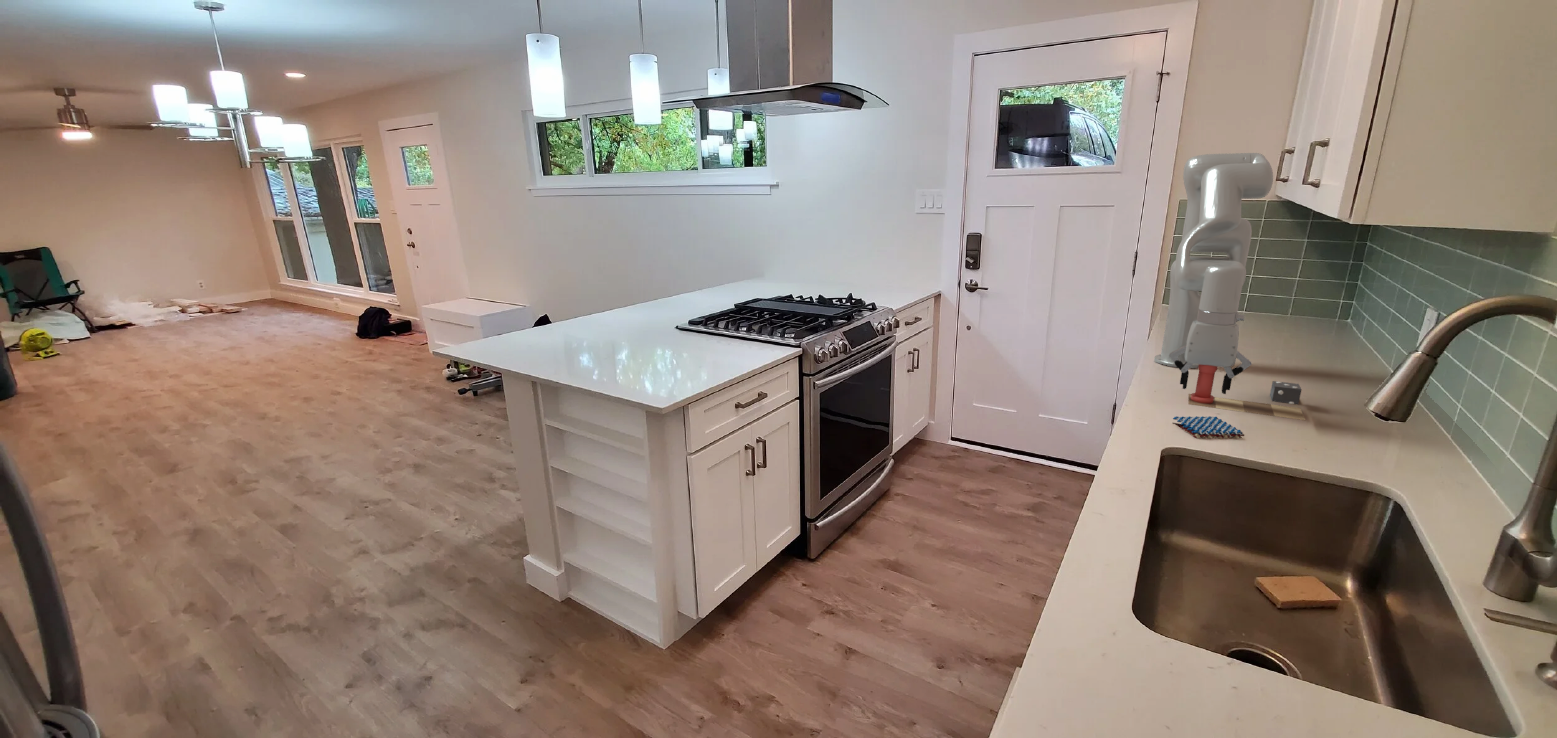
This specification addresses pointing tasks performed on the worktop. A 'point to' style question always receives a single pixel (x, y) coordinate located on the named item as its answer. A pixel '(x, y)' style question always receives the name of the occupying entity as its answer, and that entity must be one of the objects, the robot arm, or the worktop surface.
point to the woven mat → (1205, 431)
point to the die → (1285, 392)
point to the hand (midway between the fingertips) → (1203, 389)
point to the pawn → (1204, 384)
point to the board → (1252, 407)
